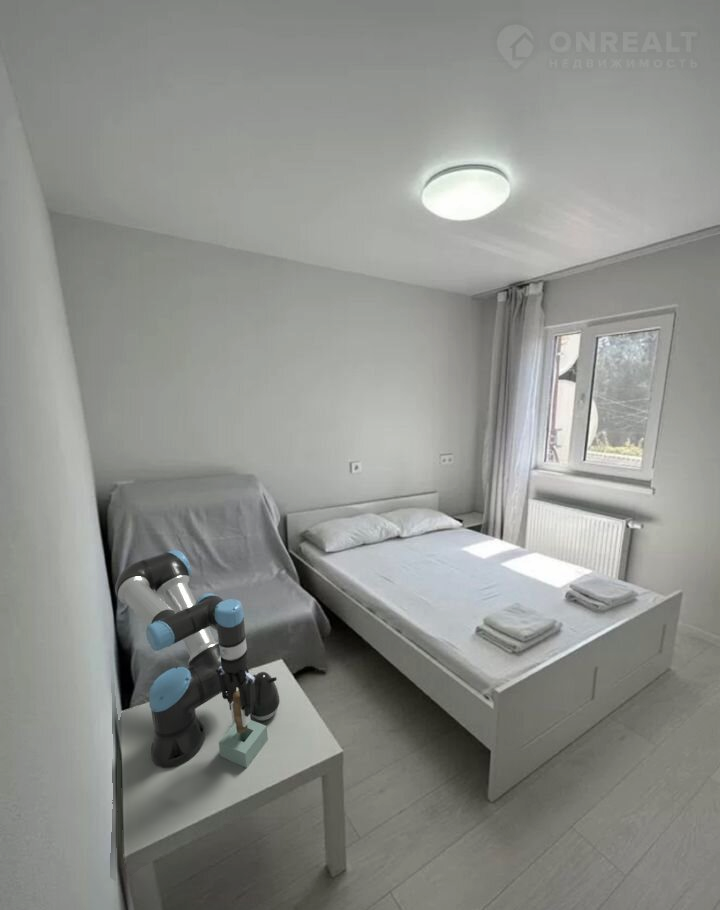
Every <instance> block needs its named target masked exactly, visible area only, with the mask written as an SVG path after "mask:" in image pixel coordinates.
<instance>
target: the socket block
mask: <svg viewBox="0 0 720 910" xmlns="http://www.w3.org/2000/svg"><path fill="white" fill-rule="evenodd" d="M247 727H248V728H247V730H246V731H245V732H244V733H238V732H237V729H236V722H235V723H233V725H232V726H231V727H230V728H229V730H228V731H227V732H226V733H225V734H224V735H223V736H222V737H221V739H220V740H219V741H218V746H219V747H218V748H219V756H220V757H221V758H223V759H226V760H229V761H230V762H233V763H235V764H237V765H240V766H242V767H244V768H247V769H248V768H249V766H250V765H251V763H252V762H253V761H254V759H255V757H256V756H257V755H258V753H259V752H260V750H262V748H263V747H264V746H265V744H266V743H267V741H268V740H269V737H268V728H267V725H265V724H263V723H260V722H257V721H255V720H252V719H251V720H250V721H249V723H248V724H247Z"/></svg>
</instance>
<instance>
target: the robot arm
mask: <svg viewBox="0 0 720 910" xmlns="http://www.w3.org/2000/svg"><path fill="white" fill-rule="evenodd" d="M191 574H192V569H191V566H190V562H189V560H188V558H187V556H186V555H185V554H184V553H183V552H182V551H181V550H177V549H174V550H169V551H165V552H163V553H160V554H158V555H154V556H150V557H149V558H145V559H142V560H138V561H136V562H133V563H131V564H129V565H128V566H127V567H126V568H125V569H124V570H122V572H120V574H119V576H118V577H117V580H116V581H115V582H116V583H115V587H114V588H115V590H114V592H115V596H116V598H117V599H118V600H119V601H120V602H121V603H122V604H123V605H126V606H127V605H128V606H129V607H130V608H131V610H132V611H133V612H134V613H135V614H136V615H137V617H139V618H140V619H141V621H142V622H143V623H144V624H145V626H146V629H145V633H146V639H147V641H148V644H149V645H150V648H151V649H152V650H153V651H155V652H158V651H161V650H163V649H167V648H168V647H171V646H173V645H174V644H177V643H179V642H180V641H183V644H184V645H185V648H186V650H187V652H188V655H189V656H190V657H189V659H188V661H187V665H188V668H186V667H185V666H178V667H177V668H176V667H172V668H170V669H168V670H166V671H165V672H163V673H161V675H159V676H158V677H157V678H156V679H155V680H154V682H152V685H151V687H150V689H149V693H148V695H149V696H148V697H149V698H148V699H149V708H150V711H151V717H152V724H153V729H154V732H153V733H154V734H153V740H152V742H151V747H150V753H151V759H152V762H153V763H154V764H155V765H156V766H157V767H160V768H164V769H167V768H168V769H169V768H170V769H171V768H174V767H178V766H181V765H182V764H185V763H186V762H188V761H189V760H190V759H192V758H193V757H194V756H195V755H197V754H198V752H199V751H201V750H200V749H201V748H202V746H203V745H204V742H205V736H206V735H205V728H204V725H203V723H202V722H201V720H200V719H199V717H198V716H197V714H196V709H198V708H199V707H200V706H202V705H204V704H206V703H207V702H208V701H210V700H212V699H213V698H215V697H217V696H218V695H220V694H221V695H222V698H223V699H224V700H227V703H228V704H229V710H230V711H231V713H230V714H231V719H232V723H233V724H235V723H236V721H235V712H234V704H233V694H234V692H236V691H238V690H239V694H240V698H241V702H242V707H241V716H242V724H243V727H245V726H246V725H247V724H248V723H249V721H250V720H252V719H251V707H252V705H253V704H254V703H255V702H256V692H255V681H256V678H257V676H256V675H257V674H253V675H252V674H251V673H250V671H249V669H248V663H249V662H248V661H249V657H248V656H249V655H248V647H247V646H248V645H247V640H246V639H247V637H246V627H245V620H244V619H245V615H244V610H243V605H242V602H241V601H240V600H238V599H234V598H229V599H228V598H227V599H225V600H224V599H223V598H222V597H221V596H219V595H217V594H214V593H211V592H210V593H209V592H207V593H204V594H202V595H201V596H200V597H199V598H198V599H197V600H196V599H195V597H194V594H193V593H192V591H191V589H190V586H189V581H190V576H191ZM163 598H164V600H163ZM209 627H211V628H213V629H214V630H215V631H216V633H217V639H218V640H217V641H216V640H215V638H214V636H213V634H212V632H211V630H210V628H209ZM237 689H238V690H237Z"/></svg>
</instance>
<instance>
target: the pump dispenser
mask: <svg viewBox="0 0 720 910" xmlns="http://www.w3.org/2000/svg"><path fill="white" fill-rule="evenodd" d="M255 675H256V676H257V678H256V681H255V692H256V702H255V703H254V704H253V705H252V707H251V713H250V715H251V716H252V717H253V718H254V719H256V720H257V721H266V720H269V719H271V718H272V717H274V715H275V714H276V713H277V711H278V709H279V708H278V707H279V705H280V703H281V702H280V695H279V691H278V687H277V685H276V683H275V682H276V681H277V679H278V678H277V676H275V677H272V676H271V675H270V673H268V672H266V671H260V672H258V673H257V674H255Z"/></svg>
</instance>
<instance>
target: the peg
mask: <svg viewBox="0 0 720 910" xmlns="http://www.w3.org/2000/svg"><path fill="white" fill-rule="evenodd" d="M233 704H234V712H235V721H236V722H235V723H236V729H237V732H238V733H244V732H245V731H246V730H247V728H248V727H247V725H246V726H245V727H243V724H242V716H241V707H242V702H241V698H240V694H239V690H236V692H234V694H233Z"/></svg>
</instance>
